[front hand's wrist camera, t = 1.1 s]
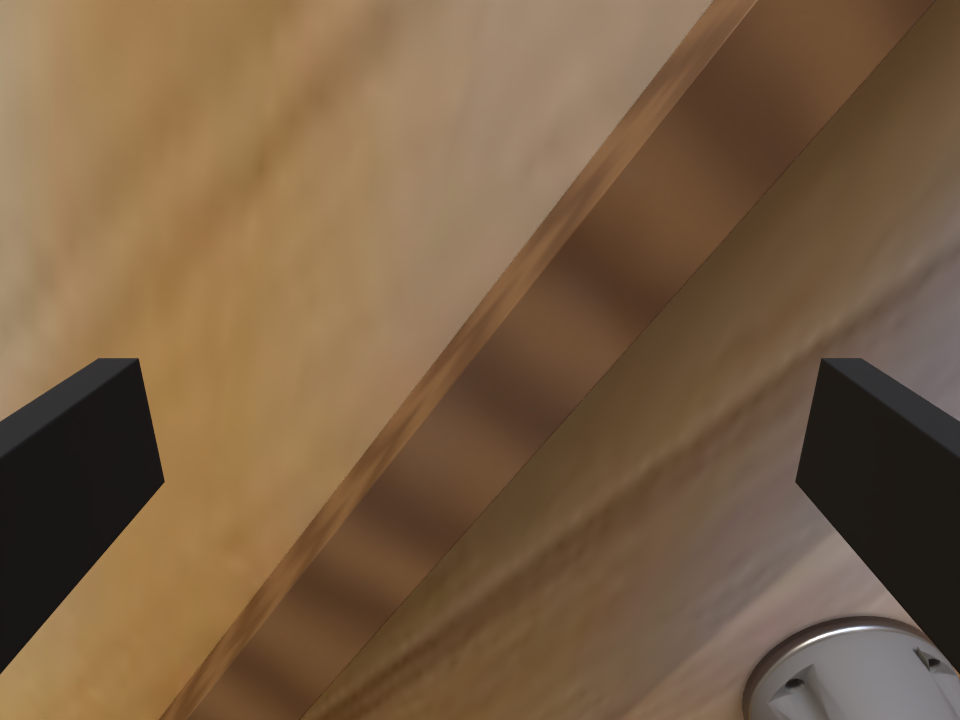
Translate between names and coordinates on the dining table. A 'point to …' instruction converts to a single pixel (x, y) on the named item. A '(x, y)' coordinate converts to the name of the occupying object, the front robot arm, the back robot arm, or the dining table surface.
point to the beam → (549, 332)
